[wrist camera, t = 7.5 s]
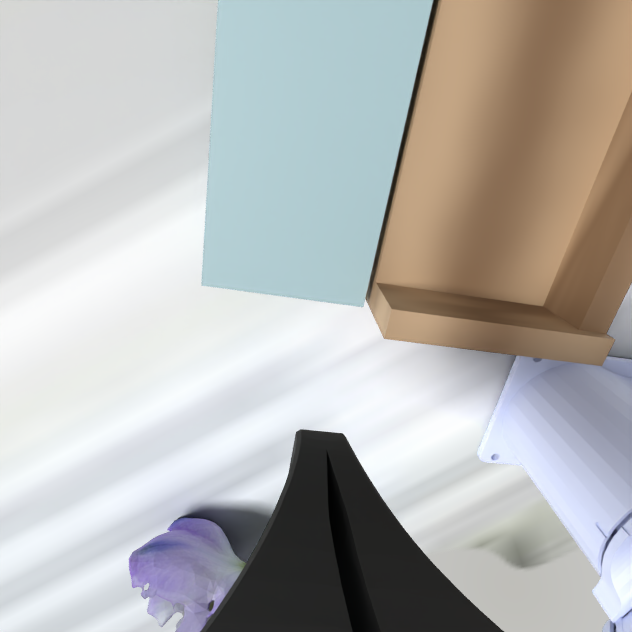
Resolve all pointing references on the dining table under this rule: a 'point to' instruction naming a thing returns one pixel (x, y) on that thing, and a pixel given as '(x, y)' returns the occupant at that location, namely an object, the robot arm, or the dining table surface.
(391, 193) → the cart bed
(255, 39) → the light blue panel
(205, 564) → the flower
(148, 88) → the dining table surface
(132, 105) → the dining table surface
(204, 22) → the dining table surface
